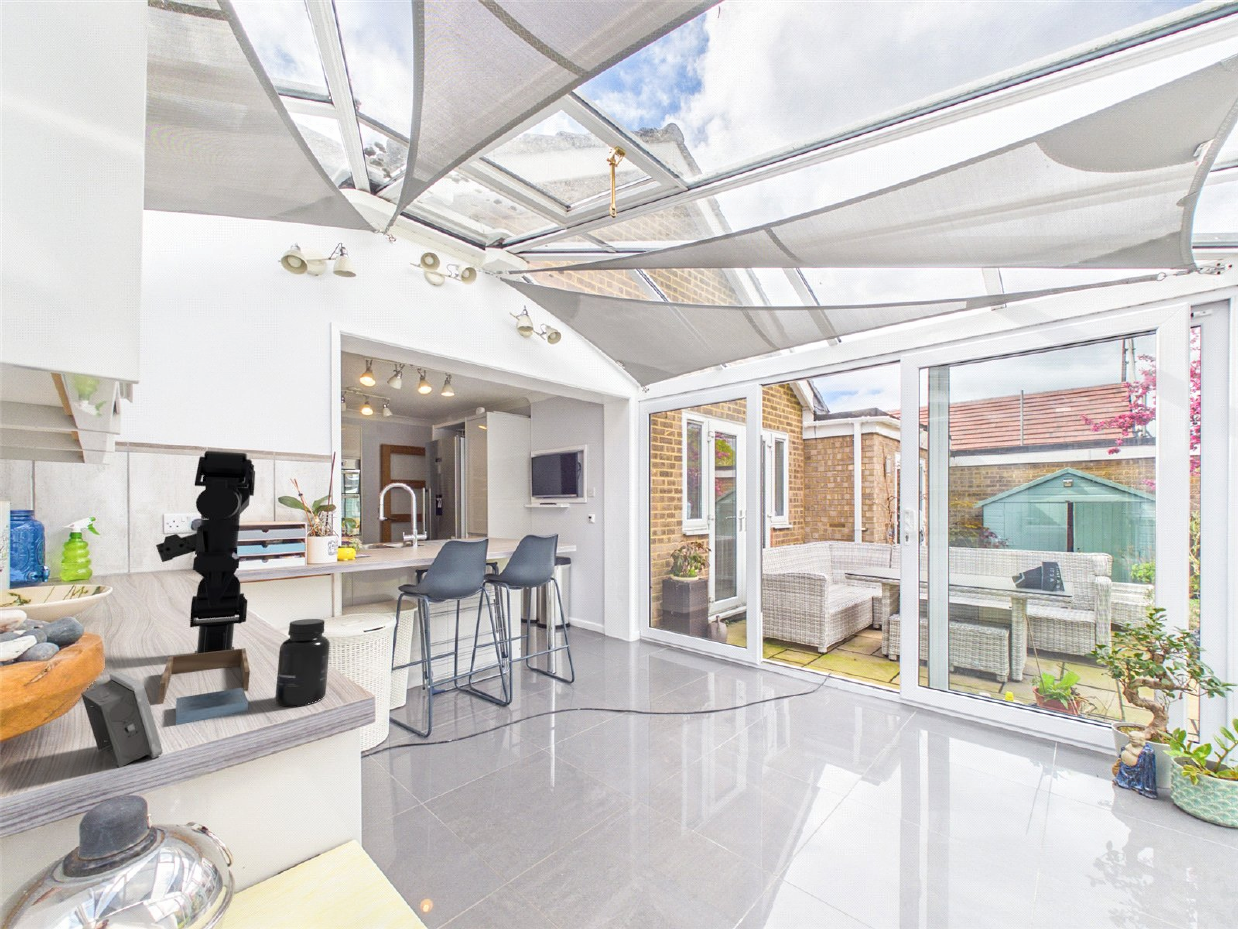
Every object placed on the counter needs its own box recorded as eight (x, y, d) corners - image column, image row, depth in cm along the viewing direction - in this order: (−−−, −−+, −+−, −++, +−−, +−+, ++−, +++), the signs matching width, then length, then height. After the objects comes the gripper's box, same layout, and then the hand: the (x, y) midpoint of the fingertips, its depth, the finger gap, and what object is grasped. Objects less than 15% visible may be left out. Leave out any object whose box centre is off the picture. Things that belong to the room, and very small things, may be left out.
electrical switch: (164, 757, 62) (162, 678, 63) (104, 780, 58) (102, 695, 58) (136, 739, 68) (135, 666, 68) (80, 758, 63) (78, 680, 63)
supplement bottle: (270, 710, 78) (276, 627, 79) (280, 695, 84) (285, 618, 85) (323, 704, 80) (328, 624, 82) (328, 691, 87) (333, 616, 88)
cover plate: (175, 712, 78) (176, 698, 78) (241, 700, 83) (242, 687, 83) (175, 729, 72) (176, 713, 72) (246, 715, 77) (248, 701, 77)
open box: (167, 674, 94) (169, 656, 95) (244, 664, 101) (245, 648, 101) (157, 704, 80) (159, 683, 80) (248, 690, 86) (249, 671, 87)
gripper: (167, 518, 100) (158, 603, 98) (157, 519, 85) (147, 619, 83) (239, 519, 106) (232, 598, 105) (242, 520, 91) (234, 612, 90)
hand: (212, 606), depth 95 cm, fingers closed
